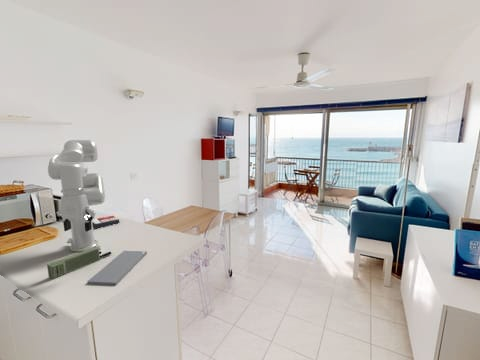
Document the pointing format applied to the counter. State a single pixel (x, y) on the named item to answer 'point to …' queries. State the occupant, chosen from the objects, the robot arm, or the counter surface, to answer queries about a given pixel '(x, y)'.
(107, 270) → the charging dock
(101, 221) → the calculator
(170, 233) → the counter surface
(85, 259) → the handheld radio
